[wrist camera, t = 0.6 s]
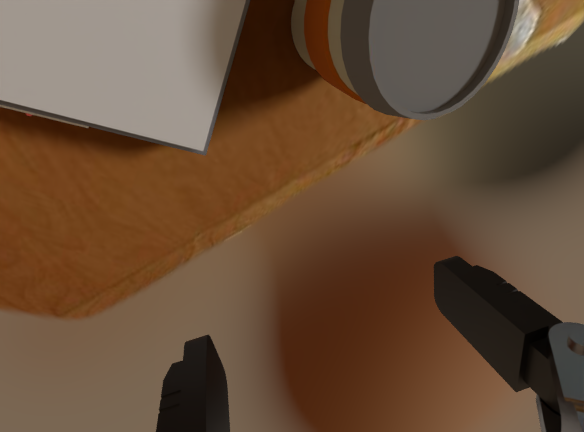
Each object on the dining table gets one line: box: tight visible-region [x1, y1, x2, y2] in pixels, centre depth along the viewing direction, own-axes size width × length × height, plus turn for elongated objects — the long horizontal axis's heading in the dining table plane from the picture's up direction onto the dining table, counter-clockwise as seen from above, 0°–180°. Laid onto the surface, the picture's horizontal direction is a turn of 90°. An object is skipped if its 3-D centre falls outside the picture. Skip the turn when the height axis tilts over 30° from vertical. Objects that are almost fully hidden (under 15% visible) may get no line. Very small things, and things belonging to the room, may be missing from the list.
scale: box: [0, 0, 250, 155], centre depth 24 cm, size 18×14×7 cm
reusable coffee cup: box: [291, 0, 519, 120], centre depth 27 cm, size 13×13×15 cm
